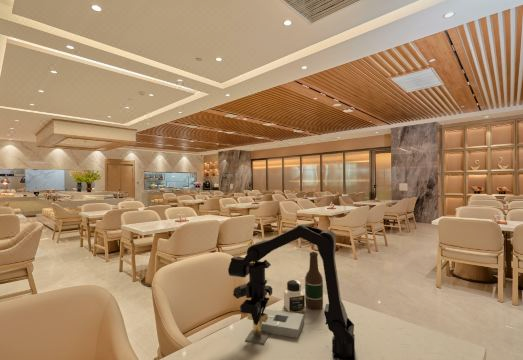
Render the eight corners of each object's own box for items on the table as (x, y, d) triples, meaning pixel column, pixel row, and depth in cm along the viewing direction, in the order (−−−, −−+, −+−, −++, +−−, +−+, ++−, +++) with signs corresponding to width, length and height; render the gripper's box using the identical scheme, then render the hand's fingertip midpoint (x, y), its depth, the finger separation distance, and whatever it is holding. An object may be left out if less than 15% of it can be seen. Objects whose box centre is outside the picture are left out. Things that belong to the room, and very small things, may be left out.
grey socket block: (303, 321, 111) (303, 313, 111) (298, 337, 99) (298, 329, 99) (265, 315, 116) (265, 308, 116) (256, 330, 104) (256, 322, 104)
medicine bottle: (289, 313, 118) (289, 285, 118) (283, 306, 125) (283, 279, 125) (305, 311, 120) (304, 283, 120) (298, 304, 127) (298, 277, 127)
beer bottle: (323, 311, 120) (322, 255, 120) (304, 309, 121) (304, 254, 121) (322, 303, 127) (322, 250, 128) (305, 301, 129) (305, 250, 129)
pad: (269, 333, 102) (269, 332, 102) (263, 344, 96) (263, 343, 96) (251, 330, 104) (251, 329, 104) (244, 341, 98) (244, 339, 98)
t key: (250, 330, 103) (249, 310, 103) (268, 333, 100) (268, 313, 100) (246, 334, 100) (246, 314, 100) (265, 337, 97) (265, 317, 97)
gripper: (245, 268, 112) (246, 307, 111) (225, 285, 94) (226, 332, 94) (272, 271, 108) (273, 311, 108) (256, 289, 90) (257, 337, 90)
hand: (257, 322), depth 100 cm, fingers closed on t key, 3 cm apart
